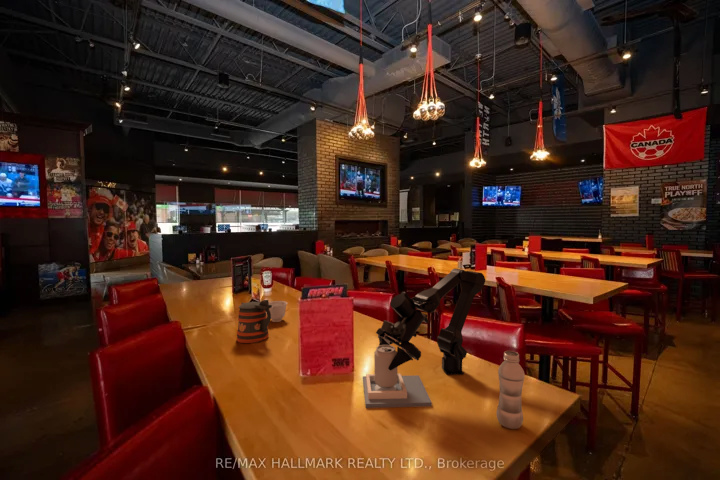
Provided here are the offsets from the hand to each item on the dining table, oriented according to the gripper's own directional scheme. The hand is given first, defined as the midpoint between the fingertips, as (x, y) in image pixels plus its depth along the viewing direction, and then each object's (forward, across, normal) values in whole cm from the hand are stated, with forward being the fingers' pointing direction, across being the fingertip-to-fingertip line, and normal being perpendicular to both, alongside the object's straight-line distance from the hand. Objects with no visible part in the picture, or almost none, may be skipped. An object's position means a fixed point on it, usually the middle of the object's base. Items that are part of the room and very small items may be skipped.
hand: (382, 364), depth 102 cm
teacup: (+15, -93, -1) cm, 94 cm away
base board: (+4, +1, +9) cm, 10 cm away
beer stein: (+25, -70, -12) cm, 75 cm away
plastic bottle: (-8, +31, +22) cm, 39 cm away
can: (+4, 0, +6) cm, 7 cm away
